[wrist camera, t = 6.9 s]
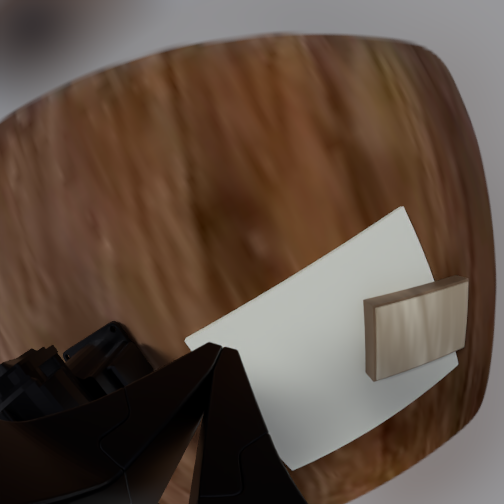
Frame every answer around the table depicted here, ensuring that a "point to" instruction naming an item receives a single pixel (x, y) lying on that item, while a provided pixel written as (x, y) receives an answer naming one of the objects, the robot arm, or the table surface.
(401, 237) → the mat
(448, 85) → the table surface
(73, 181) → the table surface
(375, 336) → the tile
